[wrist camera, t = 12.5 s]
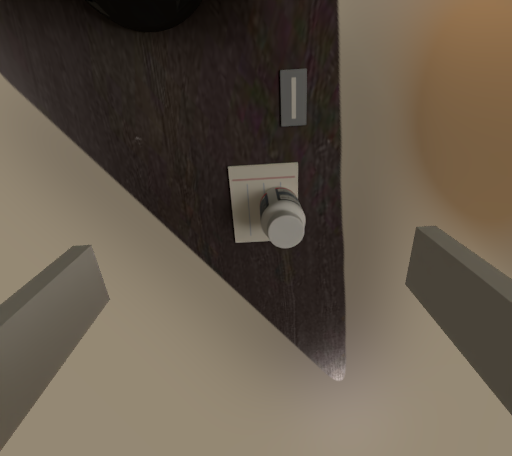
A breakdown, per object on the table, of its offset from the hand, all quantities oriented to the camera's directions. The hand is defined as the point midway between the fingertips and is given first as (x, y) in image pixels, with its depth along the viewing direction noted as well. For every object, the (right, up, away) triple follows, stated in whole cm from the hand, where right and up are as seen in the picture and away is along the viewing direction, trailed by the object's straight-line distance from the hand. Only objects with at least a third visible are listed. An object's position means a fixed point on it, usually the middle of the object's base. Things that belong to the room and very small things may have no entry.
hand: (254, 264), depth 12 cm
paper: (+1, +5, +27) cm, 28 cm away
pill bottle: (+3, +5, +27) cm, 28 cm away
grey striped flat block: (+5, +17, +22) cm, 28 cm away
